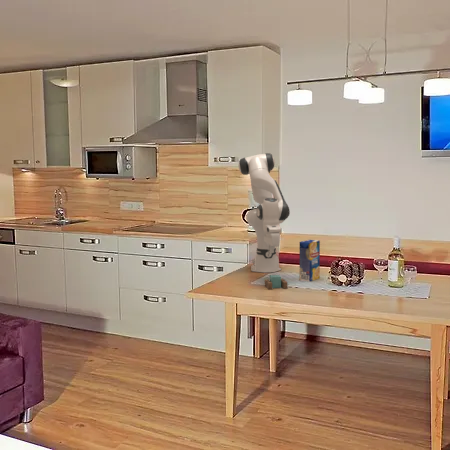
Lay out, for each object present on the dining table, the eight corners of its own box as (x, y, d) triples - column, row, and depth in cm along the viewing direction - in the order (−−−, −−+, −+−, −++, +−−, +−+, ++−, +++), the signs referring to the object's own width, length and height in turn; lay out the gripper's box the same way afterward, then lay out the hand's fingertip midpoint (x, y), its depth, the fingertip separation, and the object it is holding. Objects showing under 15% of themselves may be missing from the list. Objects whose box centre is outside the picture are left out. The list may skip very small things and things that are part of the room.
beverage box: (319, 278, 330) (319, 240, 328) (309, 281, 322) (310, 242, 319) (309, 276, 335) (309, 239, 332) (299, 280, 326) (299, 241, 324)
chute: (264, 286, 313) (264, 279, 312) (283, 285, 314) (282, 278, 314) (268, 289, 304) (268, 283, 303) (287, 288, 306) (287, 282, 305)
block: (269, 286, 312) (269, 275, 311) (278, 285, 313) (278, 274, 312) (272, 288, 307) (272, 277, 307) (281, 287, 308) (281, 276, 307)
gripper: (261, 226, 324) (261, 250, 325) (270, 229, 304) (270, 255, 305) (272, 225, 325) (272, 249, 326) (281, 229, 305) (282, 255, 306)
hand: (271, 252), depth 316 cm, fingers closed
